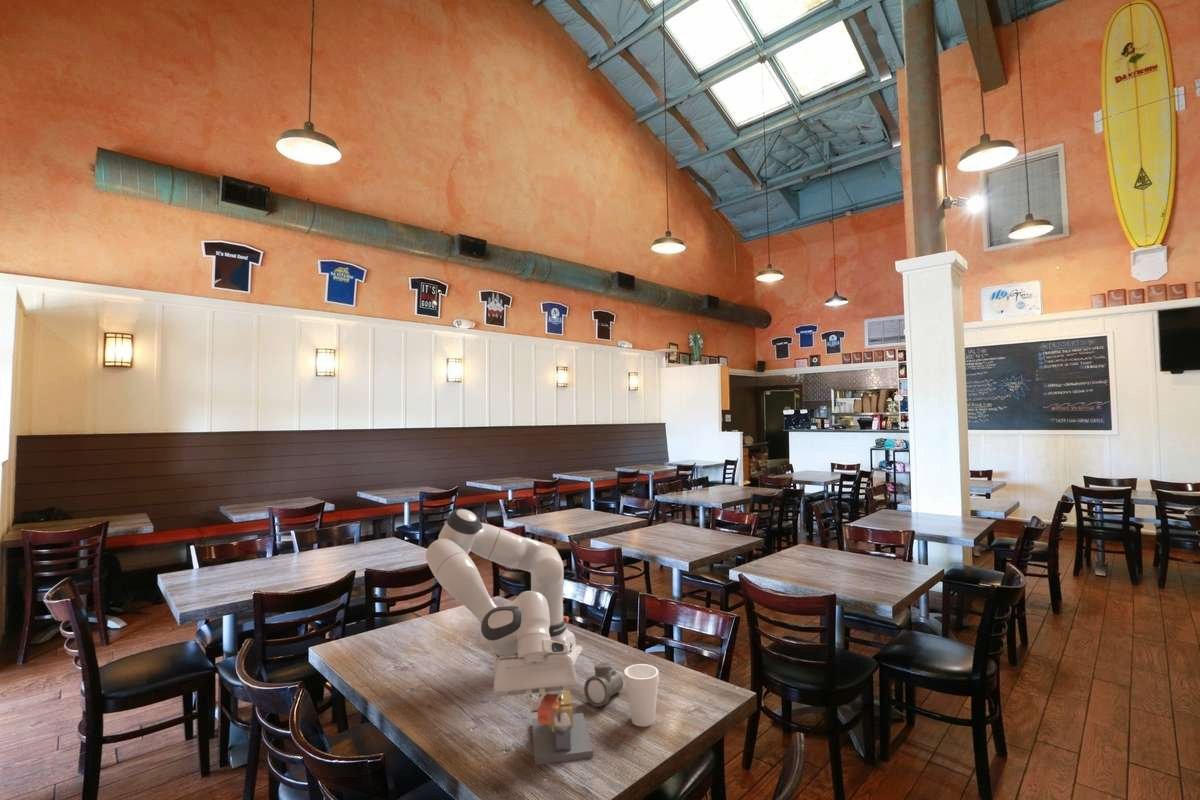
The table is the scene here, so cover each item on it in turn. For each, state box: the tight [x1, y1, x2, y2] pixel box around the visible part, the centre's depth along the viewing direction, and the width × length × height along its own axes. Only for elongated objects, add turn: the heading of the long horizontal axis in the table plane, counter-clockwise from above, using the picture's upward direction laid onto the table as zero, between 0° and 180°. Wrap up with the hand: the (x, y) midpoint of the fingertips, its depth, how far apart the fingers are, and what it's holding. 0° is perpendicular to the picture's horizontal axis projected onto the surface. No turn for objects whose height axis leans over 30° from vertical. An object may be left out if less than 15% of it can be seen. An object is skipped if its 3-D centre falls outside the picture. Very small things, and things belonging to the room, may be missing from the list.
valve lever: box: [537, 690, 564, 725], centre depth 133 cm, size 16×3×3 cm, turn 170°
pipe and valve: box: [547, 690, 574, 752], centre depth 139 cm, size 6×16×11 cm, turn 9°
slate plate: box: [531, 712, 594, 766], centre depth 139 cm, size 14×18×2 cm
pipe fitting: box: [583, 662, 624, 708], centre depth 160 cm, size 12×8×10 cm
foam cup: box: [623, 663, 660, 728], centre depth 148 cm, size 10×9×13 cm
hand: (536, 711), depth 129 cm, fingers closed
